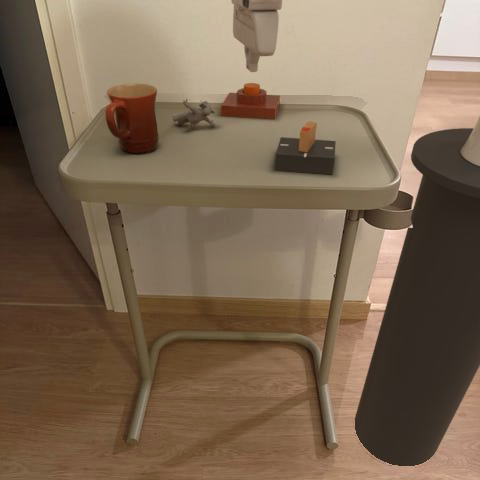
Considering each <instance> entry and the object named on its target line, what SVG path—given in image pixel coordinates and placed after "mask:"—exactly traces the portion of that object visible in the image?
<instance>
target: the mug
mask: <svg viewBox="0 0 480 480" xmlns="http://www.w3.org/2000/svg"><path fill="white" fill-rule="evenodd" d="M106 95H107V97H108V99H109V101H110V103H109V104H107V105H106V107H105V111H104V112H105V113H104V117H105V122H106V125H107V128H108V130H109V131H110V134H111V135H112V136H113V137H115V138H117V139H118V143H119V145H120V148H121V149H122V150H123V151H125V152H126V153H129V154H134V155H141V154H147V153H150V152H152V151H154V150H155V149H156V148H157V147H158V144H159V132H158V131H159V130H158V122H157V121H158V120H157V115H156V101H157V95H158V89H157V87H156V86H153V85H151V84H148V83H147V84H146V83H123V84H118V85H114V86H111V87H109V88H108V89H107V90H106Z"/></svg>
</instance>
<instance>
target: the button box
mask: <svg viewBox="0 0 480 480" xmlns="http://www.w3.org/2000/svg"><path fill="white" fill-rule="evenodd" d="M280 105H281V95H280V94H267V90H266V89H264V88H260V93H259V94H245V93H244V87H243V88H239V89H237V91H236V92H228V94H227V96H226V97H225V98H224V100H223V102H222V103H221V104H220V113H221V114H220V115H221V117H236V118H248V119H249V118H250V119H265V120H266V119H267V120H276V116H277V114H278V111H279V108H280Z"/></svg>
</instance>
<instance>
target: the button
mask: <svg viewBox="0 0 480 480" xmlns="http://www.w3.org/2000/svg"><path fill="white" fill-rule="evenodd" d="M243 88H244V93H245V94H259V93H260V89H261V84H259V83H256V82H248V83H244V84H243Z"/></svg>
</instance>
